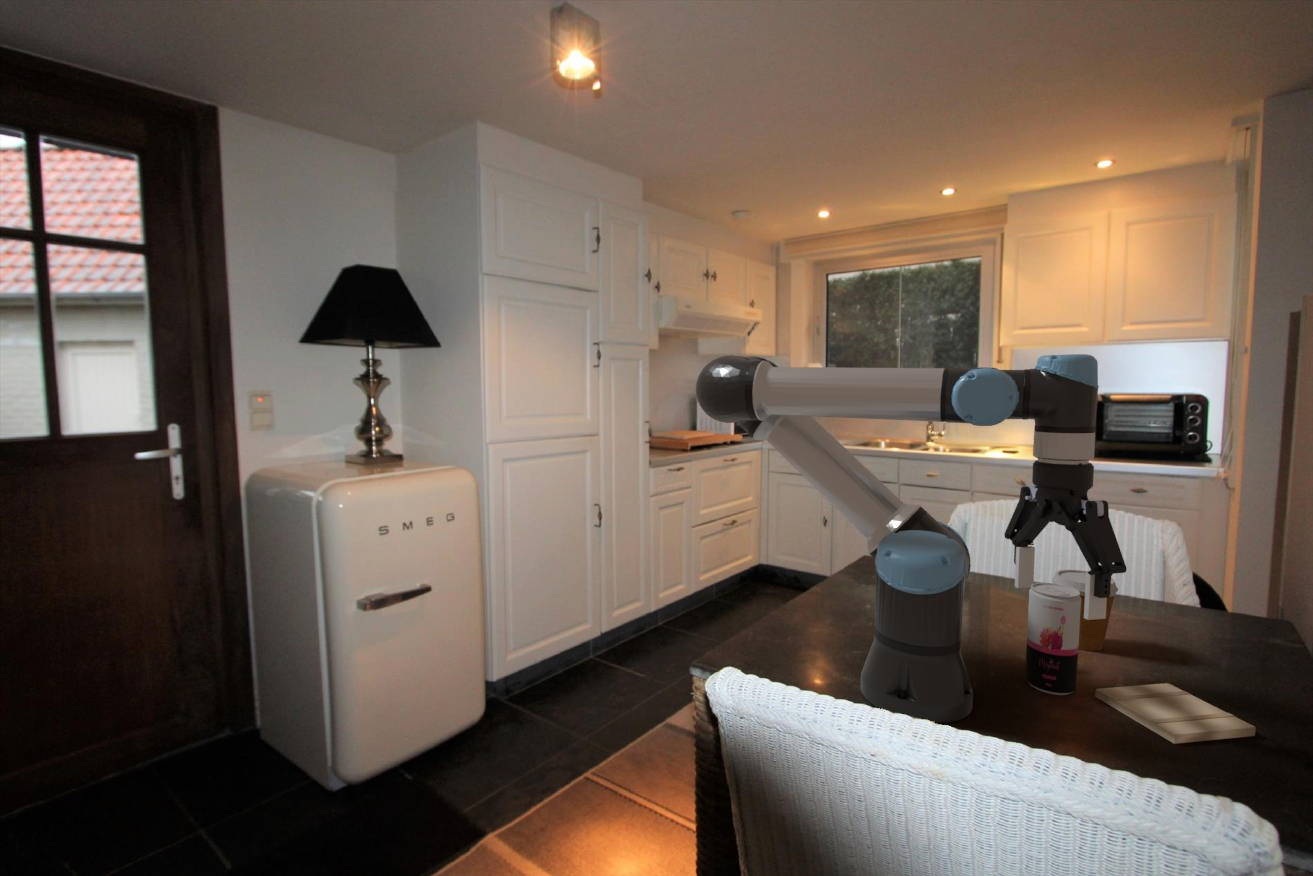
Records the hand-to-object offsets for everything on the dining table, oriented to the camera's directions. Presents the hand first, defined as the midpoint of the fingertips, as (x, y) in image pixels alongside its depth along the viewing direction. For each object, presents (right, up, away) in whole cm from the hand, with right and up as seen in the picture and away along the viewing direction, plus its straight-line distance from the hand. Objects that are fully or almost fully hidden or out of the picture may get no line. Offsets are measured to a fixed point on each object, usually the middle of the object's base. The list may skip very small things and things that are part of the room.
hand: (1056, 601), depth 93 cm
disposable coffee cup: (+15, -12, +17) cm, 25 cm away
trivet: (+11, -14, -7) cm, 19 cm away
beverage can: (0, -13, +1) cm, 13 cm away
